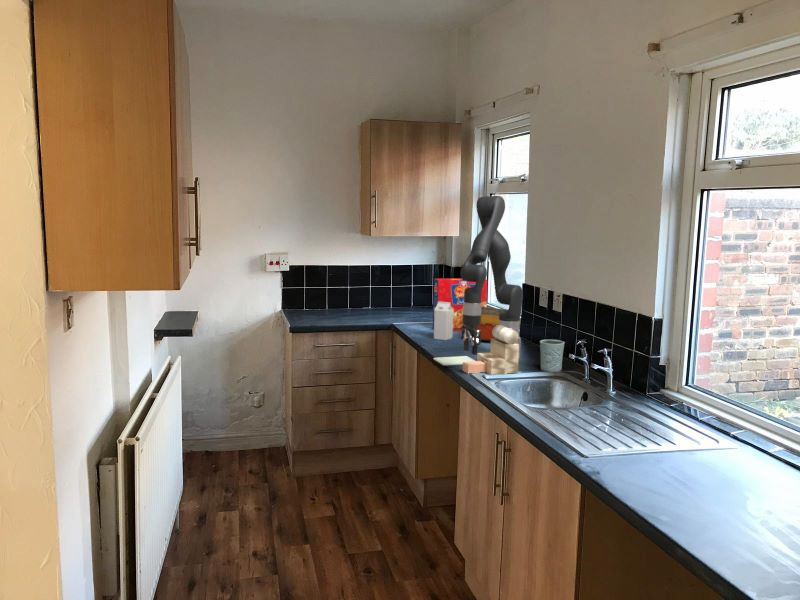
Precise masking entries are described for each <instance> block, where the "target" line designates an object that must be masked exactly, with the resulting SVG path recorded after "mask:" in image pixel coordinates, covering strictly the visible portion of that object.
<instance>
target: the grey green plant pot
mask: <svg viewBox="0 0 800 600" xmlns="http://www.w3.org/2000/svg"><path fill="white" fill-rule="evenodd" d="M564 348H565V341H562V340H559V339H541V340H540V341H539V349H540V351H539V352H540V356H539V357H540V370H541V371H544V372H548V373H559V372H561V371H562V367H563V356H564V355H563V354H564V350H565V349H564Z"/></svg>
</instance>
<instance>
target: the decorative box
mask: <svg viewBox="0 0 800 600" xmlns="http://www.w3.org/2000/svg"><path fill="white" fill-rule="evenodd" d="M506 311H508V309H503V308H495V307H494V308H493V307H487V306H486V307H481V325H480V326H477V330H481V341H482V342H483V341H484V342H487V343H491V339H494V337H493V335H492V330H493V328H494V327H495V326H496V325H499V314H500V313H502V312H506Z"/></svg>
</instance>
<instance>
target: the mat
mask: <svg viewBox="0 0 800 600" xmlns="http://www.w3.org/2000/svg"><path fill="white" fill-rule="evenodd" d="M433 360H434V361H435V362H437V363H439V364H440V365H442V366H452V365H453V366H455V365H457V366H458V365H463V362H474V361H476V360H475V359H473V358H472V357H469V356H467V355H460V356H442V357H433Z"/></svg>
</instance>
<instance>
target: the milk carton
mask: <svg viewBox="0 0 800 600" xmlns="http://www.w3.org/2000/svg"><path fill="white" fill-rule="evenodd" d="M453 332H454V331H453V308H452V307H451V305H450V302H440V301H438V304H437V306H436V308H435V313H434V330H433V339H434V340H439V341H441V340H442V341H447V340H451V339H453Z"/></svg>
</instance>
